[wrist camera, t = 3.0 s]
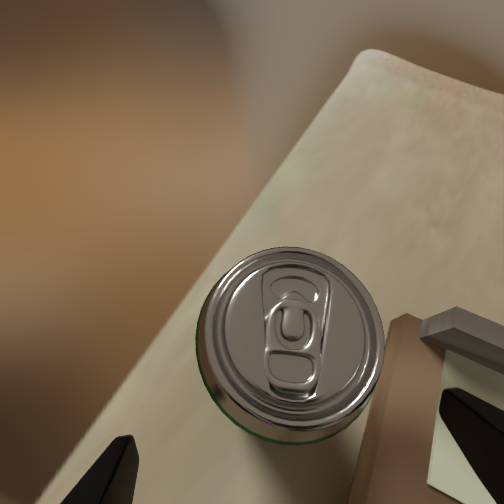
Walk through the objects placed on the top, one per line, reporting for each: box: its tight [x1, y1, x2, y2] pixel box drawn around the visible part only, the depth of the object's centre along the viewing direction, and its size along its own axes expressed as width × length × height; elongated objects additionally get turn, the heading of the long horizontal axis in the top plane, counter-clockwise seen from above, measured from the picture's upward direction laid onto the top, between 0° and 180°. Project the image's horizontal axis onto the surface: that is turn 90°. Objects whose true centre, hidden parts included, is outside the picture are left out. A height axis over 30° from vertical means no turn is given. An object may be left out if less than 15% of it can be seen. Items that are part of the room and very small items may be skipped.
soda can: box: [195, 247, 385, 445], centre depth 12 cm, size 5×5×12 cm
